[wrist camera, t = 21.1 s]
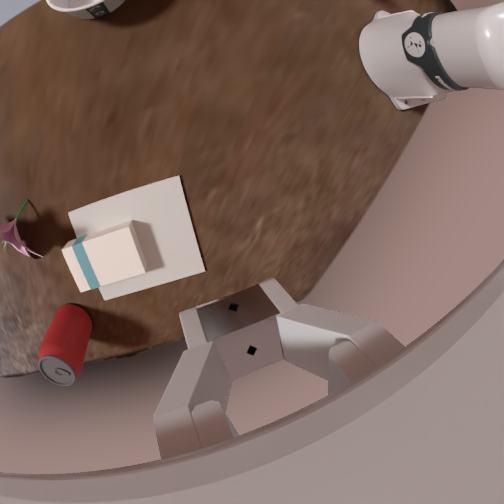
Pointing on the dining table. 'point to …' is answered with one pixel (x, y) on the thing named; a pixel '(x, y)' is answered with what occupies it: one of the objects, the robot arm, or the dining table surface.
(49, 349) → the beer can
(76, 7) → the food container
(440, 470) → the robot arm
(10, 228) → the lily
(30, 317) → the dining table surface
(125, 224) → the card box
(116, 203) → the mat
